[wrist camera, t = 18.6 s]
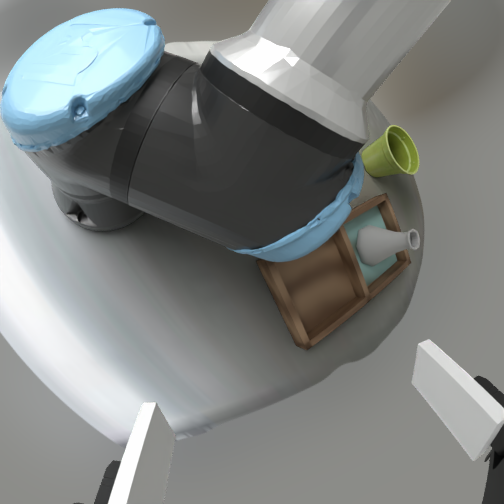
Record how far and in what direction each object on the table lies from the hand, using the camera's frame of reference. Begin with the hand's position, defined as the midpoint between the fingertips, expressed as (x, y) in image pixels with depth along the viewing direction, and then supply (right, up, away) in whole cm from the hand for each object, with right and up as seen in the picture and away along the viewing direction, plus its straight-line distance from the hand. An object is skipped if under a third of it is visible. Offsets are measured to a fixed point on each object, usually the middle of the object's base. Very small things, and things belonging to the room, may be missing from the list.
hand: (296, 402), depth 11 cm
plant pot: (+21, +24, +37) cm, 49 cm away
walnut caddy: (+13, +5, +31) cm, 34 cm away
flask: (+18, +8, +33) cm, 39 cm away
